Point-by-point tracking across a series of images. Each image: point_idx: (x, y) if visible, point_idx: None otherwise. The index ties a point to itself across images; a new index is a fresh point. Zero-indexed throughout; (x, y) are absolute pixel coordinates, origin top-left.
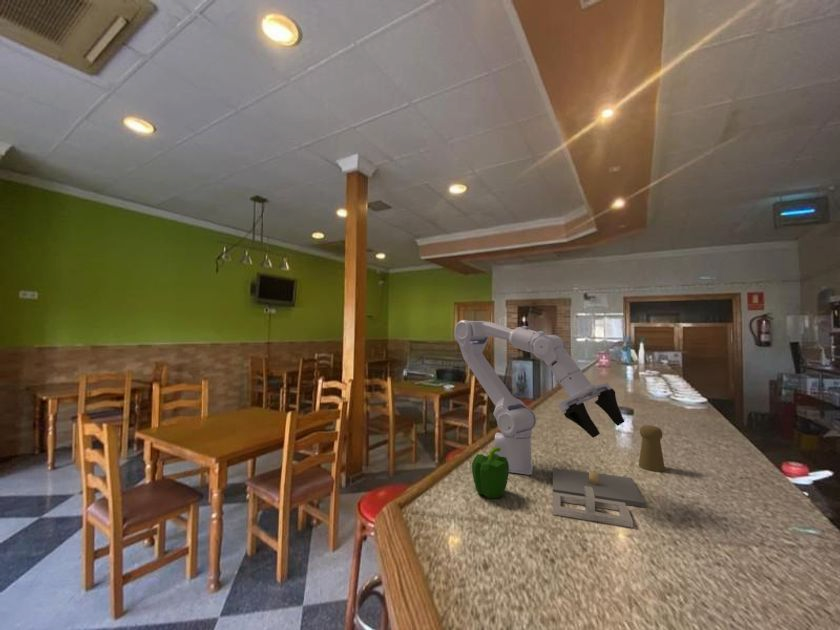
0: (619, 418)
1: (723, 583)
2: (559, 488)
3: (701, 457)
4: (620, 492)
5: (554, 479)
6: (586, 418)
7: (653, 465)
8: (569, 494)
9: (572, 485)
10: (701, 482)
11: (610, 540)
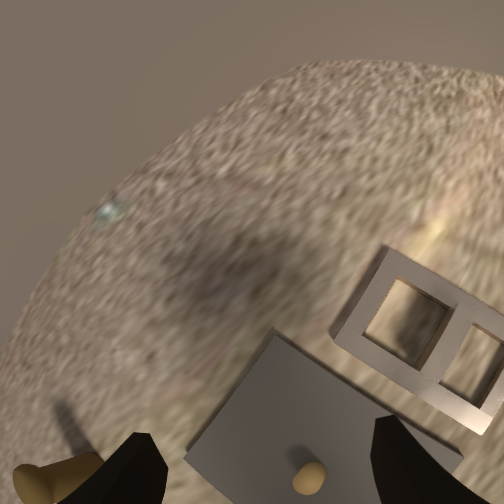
0: (141, 456)
1: (358, 103)
2: (443, 460)
3: (17, 442)
4: (288, 403)
5: None
6: (459, 492)
7: (95, 466)
8: (449, 415)
9: None
10: (76, 385)
11: (467, 216)
